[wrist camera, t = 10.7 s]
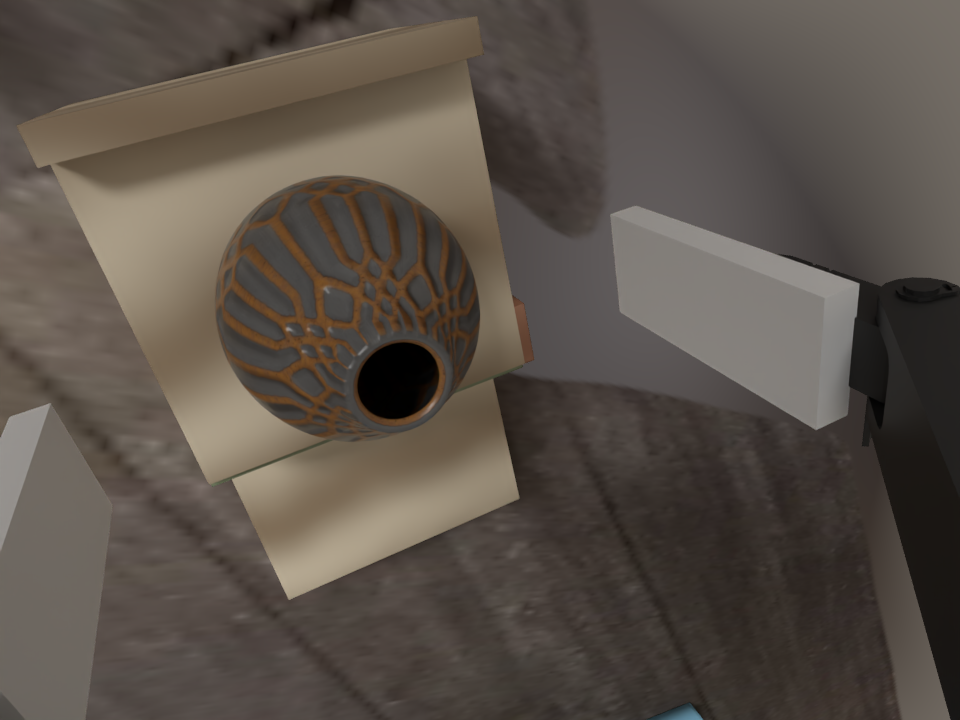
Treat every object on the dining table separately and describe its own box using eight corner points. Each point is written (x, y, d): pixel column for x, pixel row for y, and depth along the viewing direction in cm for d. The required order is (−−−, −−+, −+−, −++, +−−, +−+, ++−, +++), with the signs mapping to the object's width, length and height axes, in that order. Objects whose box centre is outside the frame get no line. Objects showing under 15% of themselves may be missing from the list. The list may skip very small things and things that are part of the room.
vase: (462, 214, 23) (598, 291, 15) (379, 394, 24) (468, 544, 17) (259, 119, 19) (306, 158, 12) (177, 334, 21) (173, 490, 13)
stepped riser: (72, 103, 24) (16, 125, 16) (398, 26, 27) (489, 13, 19) (279, 553, 34) (309, 704, 26) (499, 460, 37) (585, 571, 29)
